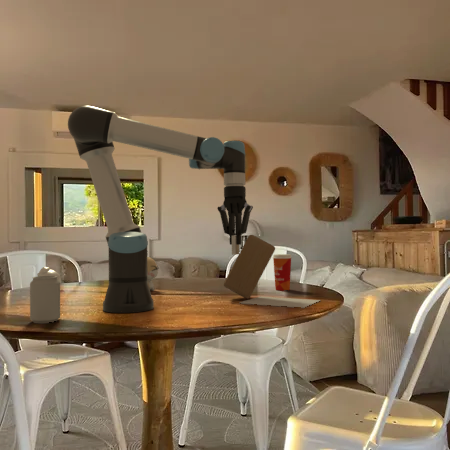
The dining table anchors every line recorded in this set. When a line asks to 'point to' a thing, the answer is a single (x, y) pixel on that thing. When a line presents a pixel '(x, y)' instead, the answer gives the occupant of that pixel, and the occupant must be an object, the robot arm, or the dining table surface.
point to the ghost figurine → (48, 273)
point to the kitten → (151, 272)
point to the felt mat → (280, 301)
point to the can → (44, 299)
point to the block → (249, 266)
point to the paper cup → (282, 271)
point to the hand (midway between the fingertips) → (235, 254)
